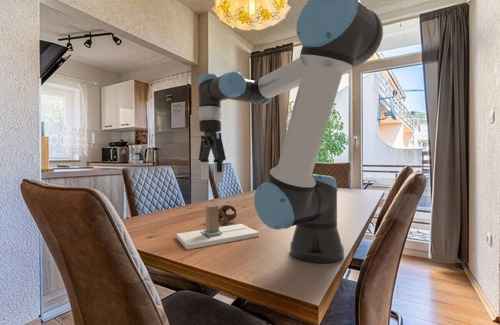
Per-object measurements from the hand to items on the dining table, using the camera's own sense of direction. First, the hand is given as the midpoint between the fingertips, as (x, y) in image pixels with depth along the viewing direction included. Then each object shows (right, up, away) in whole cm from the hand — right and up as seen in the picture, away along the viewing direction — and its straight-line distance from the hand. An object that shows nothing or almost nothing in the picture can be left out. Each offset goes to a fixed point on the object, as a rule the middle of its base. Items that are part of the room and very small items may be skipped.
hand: (211, 180), depth 93 cm
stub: (0, -18, 0) cm, 18 cm away
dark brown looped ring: (+2, -20, +25) cm, 32 cm away
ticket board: (+2, -20, +1) cm, 20 cm away
